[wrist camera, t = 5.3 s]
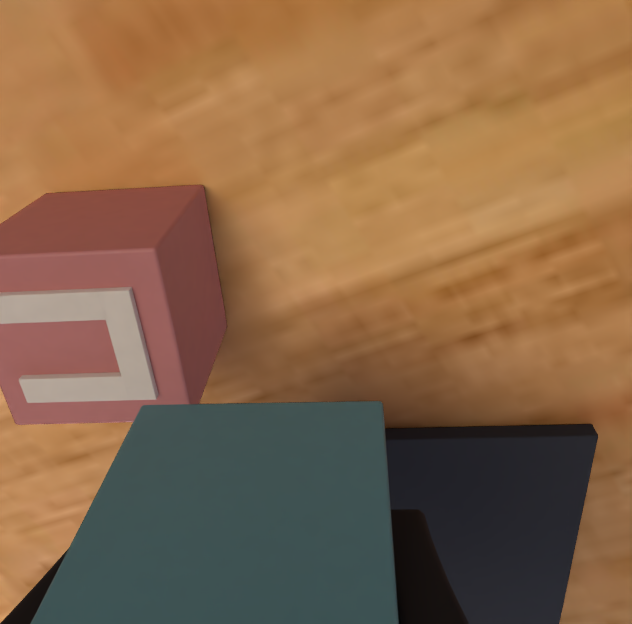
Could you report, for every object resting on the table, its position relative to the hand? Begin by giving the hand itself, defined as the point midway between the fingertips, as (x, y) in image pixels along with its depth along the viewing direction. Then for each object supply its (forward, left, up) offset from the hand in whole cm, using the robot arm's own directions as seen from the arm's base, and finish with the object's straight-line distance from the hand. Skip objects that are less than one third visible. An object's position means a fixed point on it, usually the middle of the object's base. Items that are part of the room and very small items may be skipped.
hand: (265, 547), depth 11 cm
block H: (0, 0, -1) cm, 1 cm away
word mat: (-4, +16, -8) cm, 18 cm away
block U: (+5, -2, -8) cm, 10 cm away
